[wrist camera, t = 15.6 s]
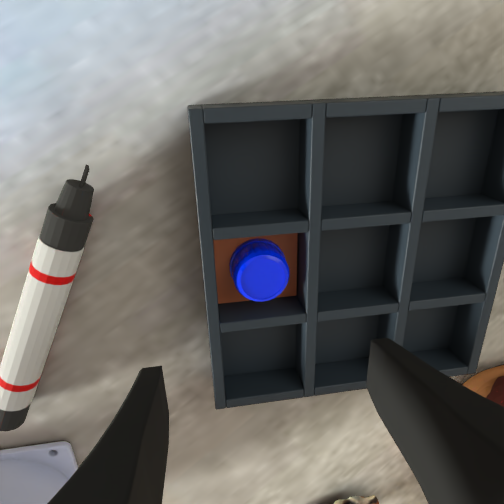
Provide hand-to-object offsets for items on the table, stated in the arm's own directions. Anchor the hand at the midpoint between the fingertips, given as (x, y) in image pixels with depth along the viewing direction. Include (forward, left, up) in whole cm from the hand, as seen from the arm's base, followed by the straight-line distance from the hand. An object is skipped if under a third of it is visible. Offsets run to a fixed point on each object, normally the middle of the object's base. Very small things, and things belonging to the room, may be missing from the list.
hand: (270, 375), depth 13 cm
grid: (+6, 0, -9) cm, 11 cm away
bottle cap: (+1, 0, -8) cm, 8 cm away
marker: (-10, -1, -9) cm, 14 cm away
